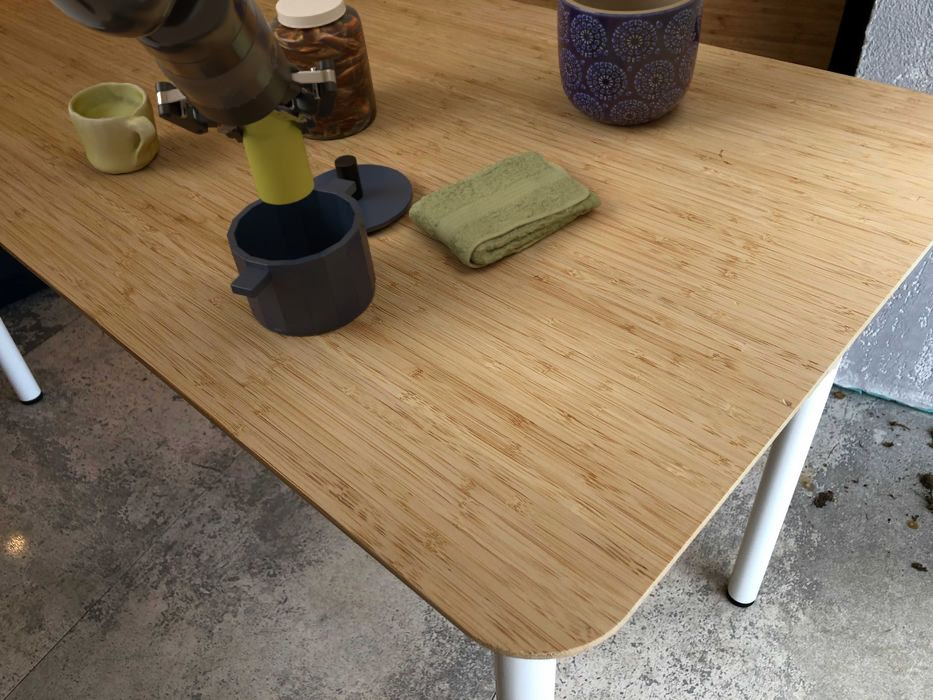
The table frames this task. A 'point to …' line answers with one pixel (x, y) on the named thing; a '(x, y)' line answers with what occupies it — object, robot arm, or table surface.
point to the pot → (304, 261)
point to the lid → (372, 190)
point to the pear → (278, 160)
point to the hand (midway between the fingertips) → (273, 126)
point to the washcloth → (503, 208)
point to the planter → (627, 56)
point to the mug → (115, 126)
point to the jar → (332, 38)
